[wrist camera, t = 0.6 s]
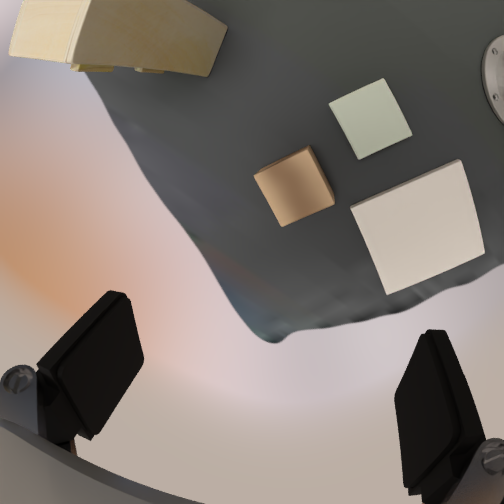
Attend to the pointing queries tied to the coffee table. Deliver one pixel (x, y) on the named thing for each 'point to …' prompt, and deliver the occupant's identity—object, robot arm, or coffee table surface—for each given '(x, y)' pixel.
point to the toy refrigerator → (119, 35)
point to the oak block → (295, 186)
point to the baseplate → (421, 227)
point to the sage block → (370, 118)
